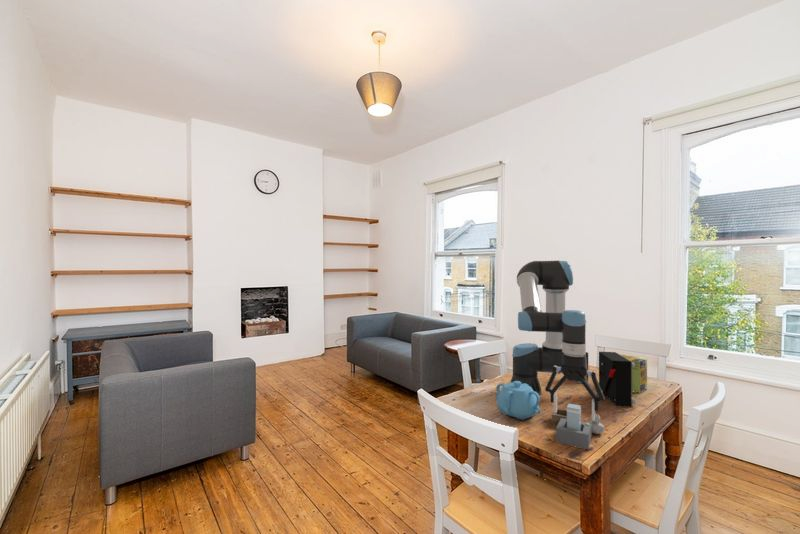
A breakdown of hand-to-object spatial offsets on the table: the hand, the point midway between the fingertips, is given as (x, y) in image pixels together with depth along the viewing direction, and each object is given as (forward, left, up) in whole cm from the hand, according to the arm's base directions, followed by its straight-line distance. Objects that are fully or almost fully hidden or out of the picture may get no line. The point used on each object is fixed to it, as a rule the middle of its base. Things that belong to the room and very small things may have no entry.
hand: (573, 415), depth 126 cm
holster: (-5, +13, -9) cm, 16 cm away
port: (0, 0, -9) cm, 9 cm away
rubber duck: (+6, +11, -9) cm, 15 cm away
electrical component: (+11, +54, -9) cm, 56 cm away
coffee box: (-7, +75, -9) cm, 76 cm away
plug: (0, 0, -9) cm, 9 cm away
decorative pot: (-23, +12, -9) cm, 27 cm away
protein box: (+15, +76, -9) cm, 78 cm away
